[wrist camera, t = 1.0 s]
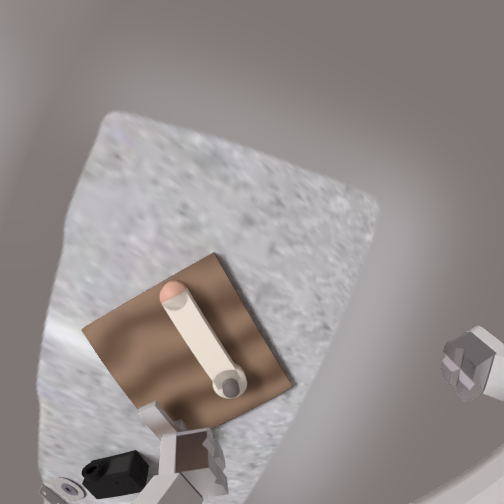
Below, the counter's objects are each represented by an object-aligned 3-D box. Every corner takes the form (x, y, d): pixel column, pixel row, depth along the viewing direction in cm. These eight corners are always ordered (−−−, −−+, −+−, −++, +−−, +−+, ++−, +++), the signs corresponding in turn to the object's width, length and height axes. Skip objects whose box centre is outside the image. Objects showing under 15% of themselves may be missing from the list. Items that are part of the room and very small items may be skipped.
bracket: (90, 493, 43) (87, 503, 40) (65, 502, 42) (61, 512, 39) (66, 472, 42) (61, 483, 39) (42, 483, 41) (37, 492, 38)
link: (250, 380, 43) (253, 388, 41) (222, 395, 43) (224, 403, 40) (183, 272, 41) (182, 275, 38) (153, 290, 40) (150, 293, 38)
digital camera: (132, 444, 43) (125, 470, 36) (149, 465, 44) (145, 491, 37) (87, 455, 42) (77, 479, 35) (104, 475, 43) (96, 499, 36)
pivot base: (289, 382, 46) (301, 401, 40) (170, 441, 44) (168, 464, 38) (213, 252, 43) (215, 256, 37) (84, 326, 41) (69, 340, 35)
